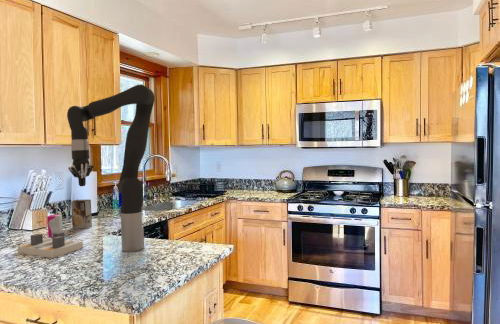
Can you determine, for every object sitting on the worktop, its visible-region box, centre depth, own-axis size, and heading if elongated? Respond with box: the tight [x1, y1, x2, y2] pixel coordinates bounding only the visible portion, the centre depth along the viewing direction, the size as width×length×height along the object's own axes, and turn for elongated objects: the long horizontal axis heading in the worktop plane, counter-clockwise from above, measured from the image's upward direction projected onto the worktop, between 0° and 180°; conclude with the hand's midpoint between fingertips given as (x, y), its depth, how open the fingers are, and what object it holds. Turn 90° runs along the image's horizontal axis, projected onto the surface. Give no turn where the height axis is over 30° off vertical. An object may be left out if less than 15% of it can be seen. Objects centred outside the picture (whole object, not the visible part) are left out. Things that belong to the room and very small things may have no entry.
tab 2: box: [53, 231, 66, 241], centre depth 171 cm, size 4×3×5 cm
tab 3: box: [52, 236, 65, 249], centre depth 163 cm, size 4×3×5 cm
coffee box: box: [70, 199, 93, 229], centre depth 213 cm, size 9×6×16 cm
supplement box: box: [47, 213, 64, 238], centre depth 192 cm, size 6×6×12 cm
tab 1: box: [30, 233, 44, 246], centre depth 168 cm, size 4×3×5 cm
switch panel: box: [17, 237, 84, 259], centre depth 167 cm, size 16×22×3 cm
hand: (82, 186), depth 171 cm, fingers closed
